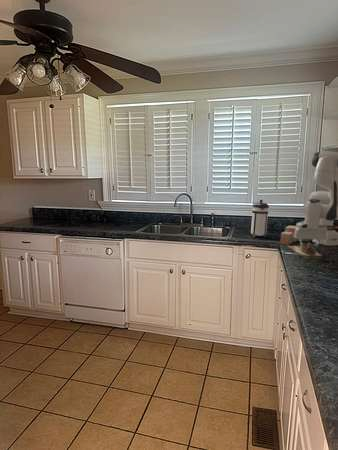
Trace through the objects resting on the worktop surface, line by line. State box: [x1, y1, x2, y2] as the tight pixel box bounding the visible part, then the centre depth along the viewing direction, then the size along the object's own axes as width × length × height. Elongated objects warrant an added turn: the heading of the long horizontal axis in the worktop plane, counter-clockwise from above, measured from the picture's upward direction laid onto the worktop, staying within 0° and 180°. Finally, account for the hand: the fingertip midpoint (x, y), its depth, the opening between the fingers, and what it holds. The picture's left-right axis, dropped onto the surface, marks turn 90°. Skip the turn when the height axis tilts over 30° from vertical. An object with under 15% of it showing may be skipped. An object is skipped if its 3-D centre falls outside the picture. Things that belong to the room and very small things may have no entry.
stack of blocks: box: [279, 224, 298, 246], centre depth 231 cm, size 21×6×12 cm, turn 143°
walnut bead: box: [302, 245, 317, 254], centre depth 201 cm, size 6×6×4 cm
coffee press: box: [249, 199, 270, 239], centre depth 252 cm, size 17×16×30 cm
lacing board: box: [287, 242, 324, 259], centre depth 206 cm, size 14×24×8 cm, turn 1°
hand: (309, 245), depth 200 cm, fingers open, 8 cm apart
